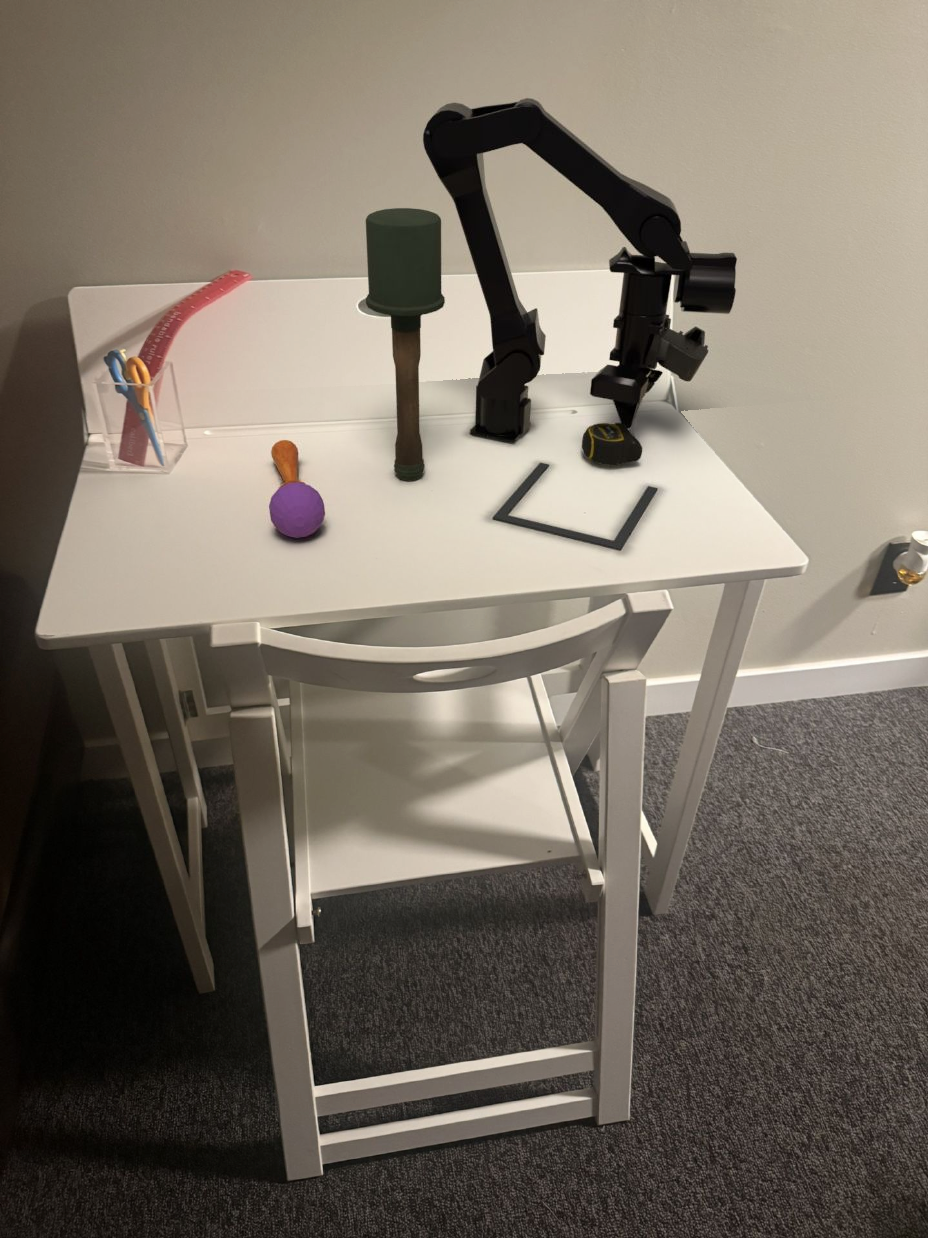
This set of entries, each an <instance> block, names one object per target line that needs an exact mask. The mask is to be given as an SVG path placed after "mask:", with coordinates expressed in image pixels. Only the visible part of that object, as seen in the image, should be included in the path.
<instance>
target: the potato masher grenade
mask: <svg viewBox="0 0 928 1238" xmlns="http://www.w3.org/2000/svg"><path fill="white" fill-rule="evenodd" d="M365 237H366V239H365V240H366V258H367V259H366V261H367V281H368V282H367V283H368V294H367V295H366V297H365V304H366V306H367V308H368V309H370V310H372V311H374V313H378V314H383V315H387V316H390V328H391V345H392V359H393V364H394V372H395V374H394V375H395V401H396V430H397V431H396V432H397V433H396V439H395V444H394V454H395V456H394V458H395V459H394V464H393V468H394V473H395V474H396V477H397V478H399V479H400V480H402V481H407V482H408V481H409V482H412V481H417V480H419V479H420V478H421V477H422V476H423V474H424V472H425V460H424V458H423V457H424V454H423V452H424V449H423V442H422V436H421V432H420V431H421V430H420V371H419V369H420V361H421V356H422V355H421V351H422V350H421V347H422V346H421V328H422V316H423V315H428V314H432V313H436V312H437V311H439V310H441V309H443V308H444V305H445V303H446V299H445V296H444V295H443V294H442V218H441V216H439V214H438V213H435V212H433V211H430V210H428V209H427V210H426V209H421V208H412V207H411V208H410V207H394V208H384V209H380V210H376V211H373V212H371V213H369V214H368V215H367V216H366V218H365Z"/></svg>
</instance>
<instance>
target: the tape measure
mask: <svg viewBox="0 0 928 1238" xmlns="http://www.w3.org/2000/svg"><path fill="white" fill-rule="evenodd" d="M581 449H582V453H583V455H584V456H585V457H586V458H587V459H588V460H590V462H591V461H592V462H593V463H596V464H599V465H602V466H603V465H604V466H612V467H613V466H618V465H619V466H620V465H624V464H629V463H635V462H638V461H639V460H640V459H641V458H642V455H643V446H642V444H641V442H640V441H639V440H638V439H637V438H636V437H635V436H634V434H632V433H631V431H630V429H628V428H627V427H626V426H625V424H623V423H621V422H616V423H608V422H600V423H595V424H592V425H590V426H588V427H587V428H586V430H585V431H584V433H583V436H582V440H581Z"/></svg>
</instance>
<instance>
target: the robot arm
mask: <svg viewBox="0 0 928 1238" xmlns="http://www.w3.org/2000/svg"><path fill="white" fill-rule="evenodd" d="M422 141H423V148H424V151H425V154H426V155H427V157H428V160H429V161H430V163H431V166H432V167H433V169H434V171H435V174H436V175H437V177H438V179H439V180H440V182H441V184H442V185H443V187H444V188H445V190H446V191H447V192H448V194H449V196H450V198H451V199H452V201H453V203H454V206H455V210H456V212H457V215H458V219H459V222H460V224H461V228H462V231H463V235H464V238H465V241H466V244H467V247H468V251H469V254H470V257H471V260H472V263H473V267H474V270H475V273H476V276H477V279H478V282H479V285H480V288H481V292H482V295H483V298H484V301H485V304H486V308H487V311H488V314H489V320H490V333H491V343H492V345H491V346H492V351H491V352H490V353H488V355H486V356H485V357H484V359H483V361H482V365H481V369H480V374H479V377H478V382H477V385H476V386H475V412H474V413H475V416H474V417H475V419H474V426H472V427H471V428H470V429H469V434H470V435H472V436H477V437H482V438H487V439H490V440H491V439H492V440H496V441H501V442H506V443H511V444H513V443H516V442H517V441H518V439H519V438H520V437H522V435H524V433H526V432H527V431H528V429H529V428H530V427H531V425H532V423H531V412H532V409H531V408H532V399H531V398H529V385H527V384H529V383H531V382H532V381H533V380H534V379H536V377H537V376H538V374H539V372H540V371H541V364H542V356H544V355H545V348H546V337H547V335H546V334H545V333H544V331H543V330H542V328H541V325H540V318H539V311H538V308H536V307H535V308H534V309H531V310H530V311H527V309H526V307H524V304H523V303H522V302H521V300H520V298H519V295H518V291H517V288H516V285H515V281H514V278H513V273H512V271H511V267H510V265H509V261H508V258H507V257H508V256H507V254H506V251H505V246H504V244H503V240H502V237H501V234H500V230H499V227H498V223H497V219H496V217H495V213H494V210H493V209H494V208H493V207H492V202H491V200H490V195H489V193H488V189H487V185H486V184H487V183H486V175H485V160H484V154H485V153H489V152H492V151H496V150H499V149H504V148H507V147H510V146H515V145H519V144H521V145H524V146H526V147H527V148H528V149H529V150H531V151H532V152H533V153H535V154H536V155H537V156H538V157H540V158H541V160H543V161H544V162H545V163H547V164H548V165H549V166H551V167H552V168H553V169H554V170H555V171H557V172H558V173H559V174H560V175H562V177H564V178H565V179H567V180H568V181H569V182H571V184H573V185H574V186H575V187H576V188H577V189H579V190H580V191H582V192H583V193H584V194H585V195H586V196H588V198H590V199H591V200H592V201H594V202H595V203H596V204H597V205H599V206H600V207H601V208H602V209H603V211H604V212H605V213H606V215H608V217H610V219H611V221H612V222H613V223H614V225H615V226H616V227H617V229H618V230H619V231H620V233H621V234H622V235H623V237H625V239H626V240H627V241H628V242H629V244H630V245H631V246H632V247H633V248H634V249H635V250H636V251H637V252H638V253H639V254H632V253H631V252H630V251H629V249H628V248H627V247H626V246H623V247H621V249H620V251H619V252H618V253H617V254H615V255H613V256H612V257H611V258H610V259H608V266H609V267H608V268H609V271H610V272H611V273H614V274H615V273H616V274H618V273H620V274H623V276H622V284H621V293H620V301H619V309H618V315H617V316H616V317H614V319H613V324H612V328H613V329H616V335H615V342H614V344H615V345H614V347H613V348H612V349H611V350H610V352H609V357H608V358H609V359H608V360H609V361H613V362H618V365H613V364H606V365H605V366H604V367H602V368H601V369H600V370H599V371H598V372H597V373H596V374H595V375H594V376H593V377H592V379H591V382H590V390H589V395H590V396H592V397H594V398H600V399H605V400H609V401H612V402H613V404H614V407H615V410H616V413H617V416H618V418H619V421H620V423H623V424H625V426H626V427H627V428H628V430H630V429H632V427H633V425H634V422H635V419H636V418H637V414H638V412H639V409H640V407H641V404H642V401H643V399H644V397H645V396H646V394H647V393H650V391H651V390H652V388H653V387H654V386H655V384H656V382H657V381H658V380H659V379H660V378H661V377H662V375H663V374H664V373H663V371H661V370H658V369H656V368H657V367H658V365H659V366H660V367H662V368H664V369H665V370H667V371H669V372H670V373H673V374H674V375H676V376H677V377H678V379H680V380H682V381H683V382H691V381H692V380H693V378H694V377H695V376H696V374H697V372H698V370H699V369H700V367H701V365H702V364H703V362H704V361H705V359H706V357H707V355H708V353H709V349H708V348H709V345H707V344H705V340H706V338H705V337H706V332H705V330H703V329H701V328H699V327H697V326H694V327H692V328H691V329H689V330H687V331H686V332H685V333H684V332H683V331H682V330H680V331H679V332H677V331H675V330H673V329H671V323H672V318H670V314H667V310H668V303H669V297H670V292H671V291H670V290H671V285H672V284H671V283H672V278H673V277H672V276H675V278H674V284H673V295H672V296H673V297H672V300H673V303H675V304H677V303H678V304H679V308H680V311H681V312H682V313H699V314H722V315H730V313H731V311H732V309H733V306H734V303H735V298H736V291H737V289H736V274H737V272H736V266H737V261H738V258H737V256H736V254H735V253H734V252H720V253H708V252H707V253H706V252H705V253H704V252H703V253H702V252H691V251H690V247H689V245H688V243H687V241H686V240H683V238H682V236H681V233H682V222H681V218H680V216H679V213H678V210H677V207H676V205H675V203H674V202H673V201H672V199H671V198H669V197H668V196H666V195H665V194H663V193H661V192H660V191H658V190H655V189H654V188H653V187H650V186H648V185H646V184H644V183H642V182H640V181H637V180H635V179H633V178H630V177H629V176H627V175H625V174H623V173H621V172H620V171H619V170H617V168H615V167H614V166H613V165H611V163H609V162H608V161H607V160H606V159H604V157H602V156H600V154H598V153H597V152H596V151H594V150H593V149H592V147H590V146H589V145H588V144H586V143H585V142H584V141H582V139H580V138H579V137H578V136H576V135H575V134H574V133H573V132H572V131H571V130H570V129H568V128H567V127H566V126H564V125H563V124H562V123H561V122H560V121H558V120H557V119H556V118H555V117H554V116H552V115H551V114H550V113H549V112H548V111H546V110H545V108H544V107H543V105H542V104H541V103H540V102H539V101H538V100H536V99H534V98H531V97H530V98H529V97H526V98H522V99H520V100H518V101H514V102H508V103H498V104H490V105H484V106H480V107H479V106H478V107H473V108H470V107H468V106H466V105H465V104H463V103H459V102H449V103H446V104H445V105H443V106H441V107H439V109H438V110H437V111H436V112H435V113H434V114H433V115H432V116H431V117H430V119H429V120H428V121H427V123H426V125H425V127H424V130H423V134H422ZM656 257H658V258H659V259H660V260H662V261H663V262H660V261H656Z"/></svg>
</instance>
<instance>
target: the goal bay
mask: <svg viewBox="0 0 928 1238" xmlns="http://www.w3.org/2000/svg"><path fill="white" fill-rule="evenodd" d="M549 467H550V464H549V463H545V462H539V463H538V464H537V465H536V466H535V467H534V469H533V470H532V471H531V472H530V473H529V474H528V476H527V477H526V478H525V479H524V480H523V482H522V483H520V485H519V486H518V487H517V489H516V490H515V491H514V492H513V493H512V494H511V495H510V497H508V499H507V500H506V501H505V502H504V503H503V505H502V506H501V507H500V508H499V510H497V511H496V513H495V514H494V515H493V516H492V520H494V521H499V522H502V523H506V524H510V525H515V526H519V527H523V528H527V529H531V530H534V531H540V532H542V533H543V532H544V533H548V534H551V535H556V536H559V537H563V538H568V539H571V540H576V541H580V542H583V543H588V544H591V545H596V546H601V547H604V548H609V549H613V550H617V551H622V549H623V548H624V546H625V545H626V543H627V541H628V539H629V538H630V537H631V534H632V533H633V531H634V529H635V528H636V526H637V525H638V523H639V521H640V520H641V518H642V516H643V514H644V513H645V511H646V510H647V508H648V506H649V505H650V504H651V502H652V500H653V499H654V496H656V493H657V491H658V487H654V486H651V485H648V486H646V488H645V490H644V492H643V493H642V495H641V497H640V498H639V500H638V501H637V503H636V504H635V506H634V507H633V509H632V511H631V513H630V514H629V516H628V517H627V519H626V520H625V522H624V523H623V525H622V527H621V528H620V530H619V532H618V533H617V535H616V536H615V538H614V540H613V539H608V538H604V537H600V536H597V535H591V534H587V533H583V532H580V531H576V530H572V529H566V528H562V527H559V526H554V525H551V524H547V523H542V522H538V521H534V520H529V519H525V518H522V517H517V516H513V515H510V513H511V512H512V510H513V509H514V508H515V507H516V506H517V505H518V503H520V502H521V500H522V499H523V498H524V496H525V495H526V494H527V493H528V492H529V491H530V489H531V488H532V487H533V486H534V485H535V484H536V482H537V481H538V480H539V479H540V477H541V476H542V475H543V474H544V473H545V471H547V469H548V468H549Z"/></svg>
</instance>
